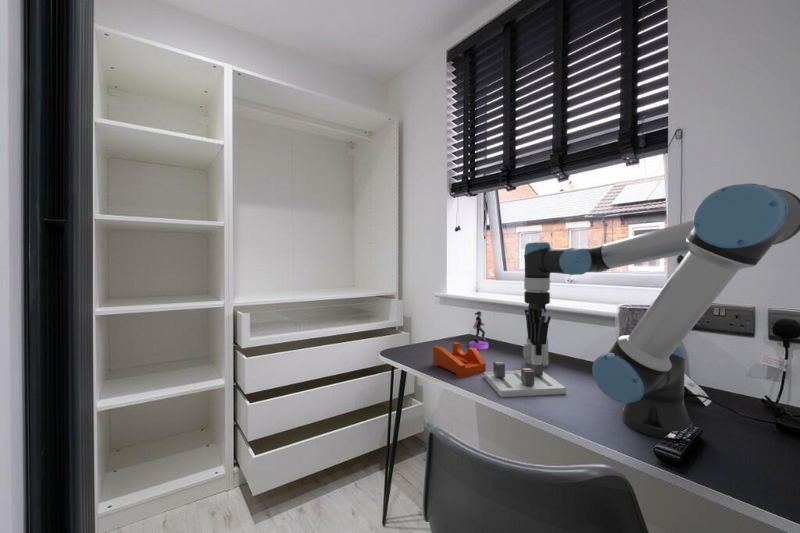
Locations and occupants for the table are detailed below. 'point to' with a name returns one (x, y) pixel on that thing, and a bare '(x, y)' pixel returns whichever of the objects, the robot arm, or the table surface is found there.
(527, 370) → the block
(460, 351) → the tape dispenser
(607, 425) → the table surface
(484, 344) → the figurine
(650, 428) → the robot arm
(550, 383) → the panel
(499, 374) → the block
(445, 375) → the table surface
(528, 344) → the mug
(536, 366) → the block
